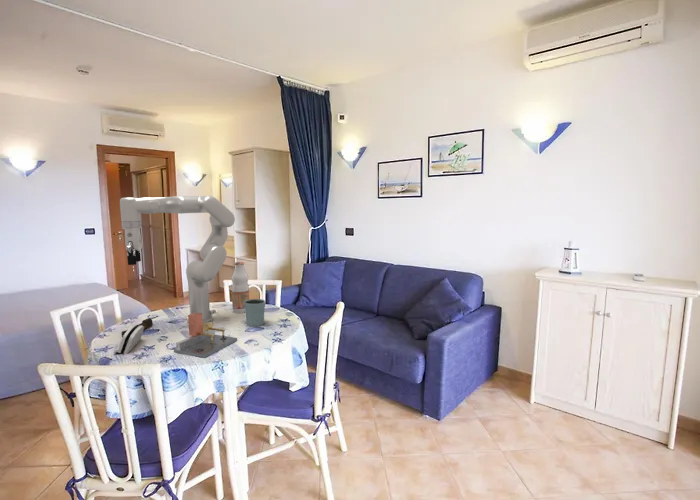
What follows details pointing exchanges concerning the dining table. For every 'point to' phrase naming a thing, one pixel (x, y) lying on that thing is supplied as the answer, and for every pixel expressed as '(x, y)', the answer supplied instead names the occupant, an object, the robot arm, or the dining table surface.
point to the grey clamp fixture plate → (204, 342)
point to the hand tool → (146, 323)
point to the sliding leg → (197, 325)
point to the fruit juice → (239, 288)
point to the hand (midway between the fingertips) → (134, 263)
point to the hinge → (130, 339)
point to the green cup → (254, 312)
